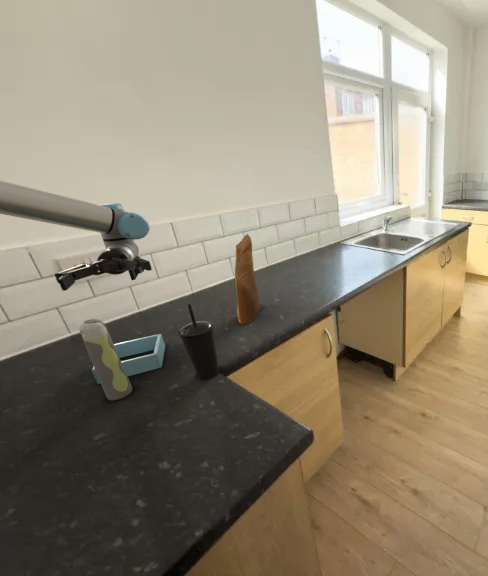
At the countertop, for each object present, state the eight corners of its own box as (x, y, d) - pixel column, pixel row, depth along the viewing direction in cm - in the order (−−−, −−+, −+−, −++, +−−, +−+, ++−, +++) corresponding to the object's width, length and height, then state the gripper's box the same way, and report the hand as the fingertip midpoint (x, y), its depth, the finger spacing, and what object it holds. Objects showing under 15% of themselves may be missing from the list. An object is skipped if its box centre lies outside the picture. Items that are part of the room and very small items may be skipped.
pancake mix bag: (269, 303, 124) (256, 232, 114) (253, 327, 106) (236, 245, 96) (251, 304, 124) (237, 233, 113) (232, 328, 106) (214, 246, 96)
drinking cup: (184, 381, 81) (162, 310, 73) (207, 363, 87) (188, 297, 80) (210, 385, 79) (189, 313, 71) (231, 367, 86) (214, 299, 78)
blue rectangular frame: (98, 384, 80) (91, 370, 79) (109, 359, 91) (103, 346, 89) (161, 368, 86) (156, 353, 85) (165, 346, 97) (161, 333, 95)
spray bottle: (102, 399, 75) (69, 324, 68) (123, 386, 79) (94, 314, 72) (117, 403, 74) (84, 327, 66) (137, 389, 78) (109, 317, 71)
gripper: (167, 264, 104) (161, 284, 86) (67, 278, 93) (37, 304, 75) (161, 242, 101) (153, 257, 83) (57, 253, 90) (23, 274, 72)
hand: (98, 280), depth 79 cm, fingers open, 13 cm apart
